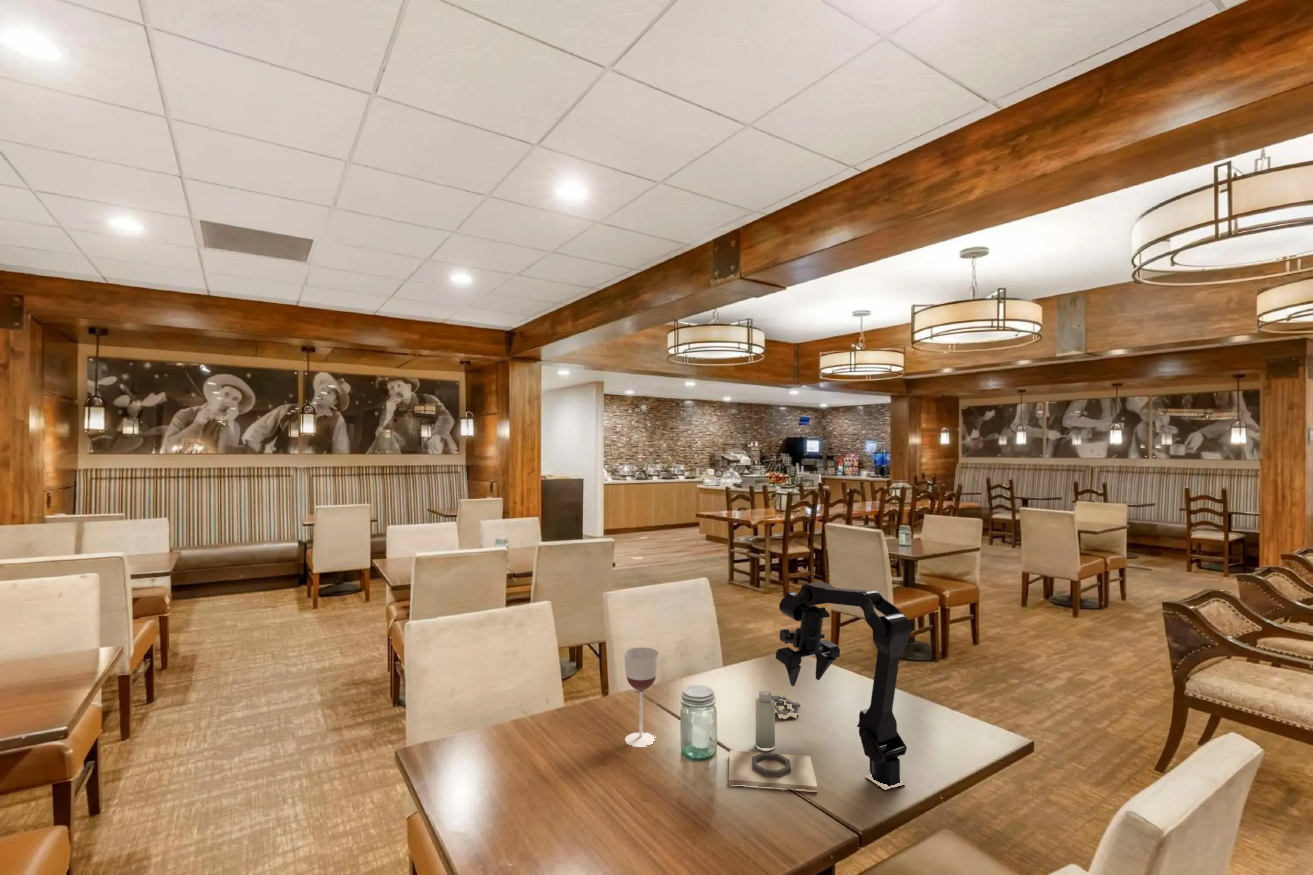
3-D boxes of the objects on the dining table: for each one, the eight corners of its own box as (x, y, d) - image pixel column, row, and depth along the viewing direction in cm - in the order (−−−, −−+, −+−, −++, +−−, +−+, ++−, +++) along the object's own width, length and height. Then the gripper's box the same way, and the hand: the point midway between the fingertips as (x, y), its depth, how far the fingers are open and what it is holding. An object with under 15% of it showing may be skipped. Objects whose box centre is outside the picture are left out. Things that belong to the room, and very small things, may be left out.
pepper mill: (778, 749, 156) (778, 695, 157) (762, 753, 154) (762, 697, 155) (768, 741, 161) (768, 688, 161) (752, 744, 159) (752, 690, 160)
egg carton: (802, 719, 175) (802, 705, 175) (778, 721, 174) (778, 707, 174) (786, 704, 186) (786, 691, 186) (764, 706, 184) (764, 692, 184)
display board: (810, 762, 150) (810, 751, 150) (817, 792, 136) (817, 780, 136) (729, 756, 153) (729, 745, 153) (728, 785, 139) (728, 773, 139)
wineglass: (659, 731, 166) (659, 647, 167) (655, 749, 156) (656, 659, 157) (626, 730, 167) (627, 646, 168) (621, 747, 157) (621, 658, 158)
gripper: (815, 612, 175) (809, 663, 176) (765, 620, 165) (759, 674, 167) (844, 627, 165) (838, 681, 166) (792, 637, 156) (786, 694, 157)
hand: (805, 682), depth 165 cm, fingers open, 9 cm apart
